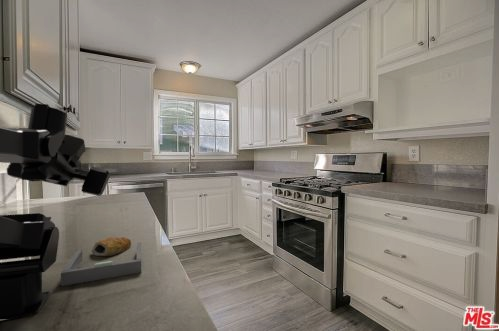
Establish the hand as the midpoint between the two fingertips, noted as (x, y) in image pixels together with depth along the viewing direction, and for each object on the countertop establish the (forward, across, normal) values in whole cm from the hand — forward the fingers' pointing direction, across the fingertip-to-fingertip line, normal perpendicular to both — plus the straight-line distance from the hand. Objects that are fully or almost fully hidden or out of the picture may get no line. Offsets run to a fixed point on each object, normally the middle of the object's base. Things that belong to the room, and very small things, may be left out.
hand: (73, 182), depth 62 cm
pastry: (+4, -14, +15) cm, 21 cm away
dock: (-6, -16, +18) cm, 24 cm away
